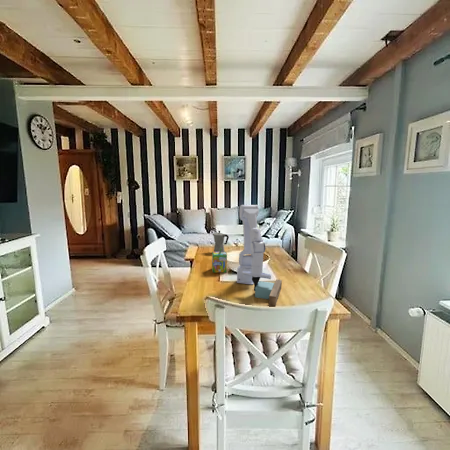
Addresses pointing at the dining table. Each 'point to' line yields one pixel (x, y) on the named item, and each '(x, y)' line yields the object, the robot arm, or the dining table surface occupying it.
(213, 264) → the chalk box
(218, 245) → the coffeepot
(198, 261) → the dining table surface
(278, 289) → the board
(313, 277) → the dining table surface
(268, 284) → the block
